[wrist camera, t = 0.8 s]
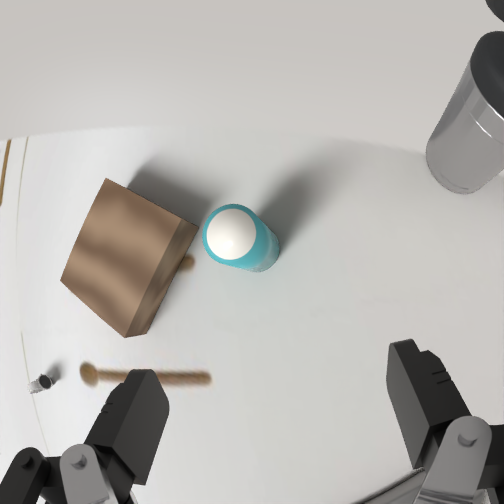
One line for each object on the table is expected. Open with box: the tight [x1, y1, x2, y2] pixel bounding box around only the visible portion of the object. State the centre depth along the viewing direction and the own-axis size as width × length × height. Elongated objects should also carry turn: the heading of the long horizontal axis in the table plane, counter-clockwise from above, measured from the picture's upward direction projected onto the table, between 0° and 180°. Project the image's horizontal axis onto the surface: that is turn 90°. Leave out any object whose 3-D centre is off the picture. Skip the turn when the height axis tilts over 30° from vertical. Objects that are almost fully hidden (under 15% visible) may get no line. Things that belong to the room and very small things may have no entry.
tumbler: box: [202, 204, 280, 272], centre depth 33 cm, size 6×6×10 cm
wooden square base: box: [60, 178, 199, 338], centre depth 40 cm, size 16×14×5 cm
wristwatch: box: [27, 374, 53, 394], centre depth 42 cm, size 3×5×5 cm, turn 121°
